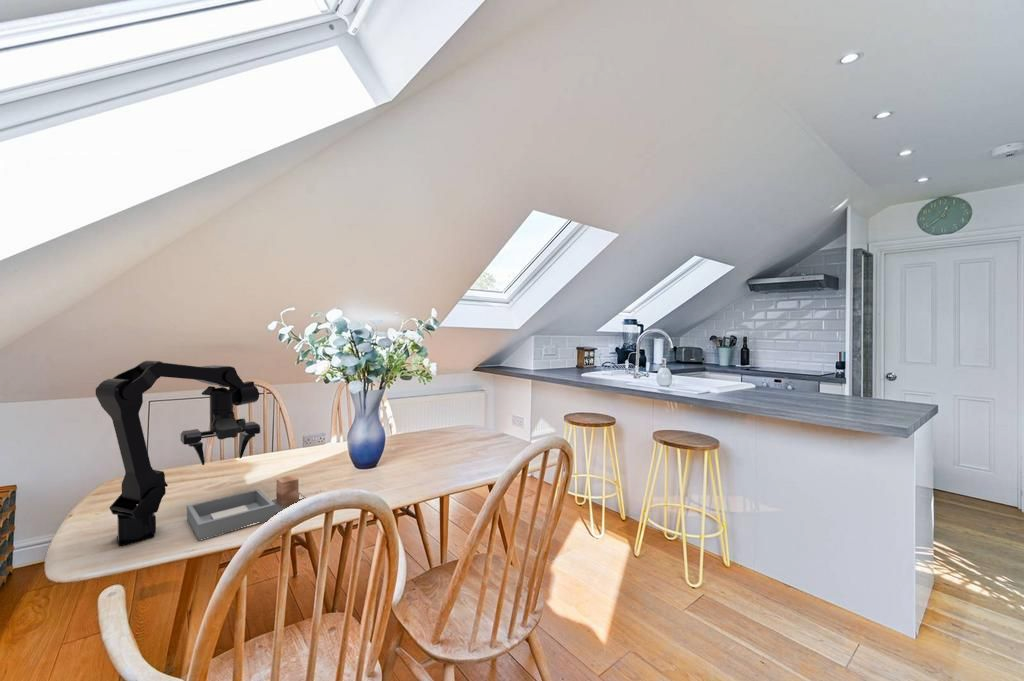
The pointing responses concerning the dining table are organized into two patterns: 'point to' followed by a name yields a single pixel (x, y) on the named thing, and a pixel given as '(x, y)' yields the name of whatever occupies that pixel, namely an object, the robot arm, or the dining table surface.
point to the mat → (278, 507)
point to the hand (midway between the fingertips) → (222, 461)
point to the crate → (229, 513)
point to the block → (287, 490)
